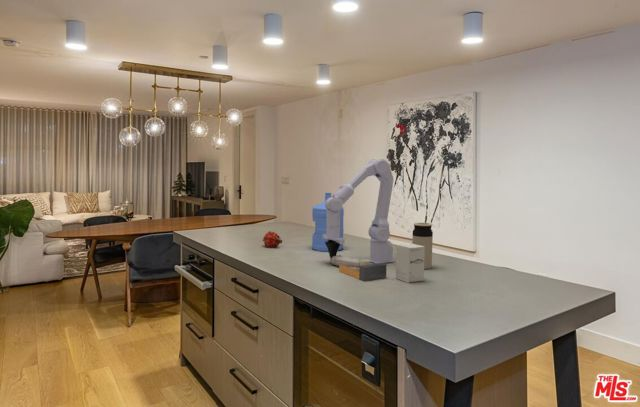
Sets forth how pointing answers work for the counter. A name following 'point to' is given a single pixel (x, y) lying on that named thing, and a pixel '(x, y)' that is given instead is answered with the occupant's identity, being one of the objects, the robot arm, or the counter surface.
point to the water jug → (323, 225)
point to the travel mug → (424, 241)
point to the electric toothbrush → (348, 261)
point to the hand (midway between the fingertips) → (332, 258)
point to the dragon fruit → (271, 239)
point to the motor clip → (366, 271)
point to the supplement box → (410, 262)
